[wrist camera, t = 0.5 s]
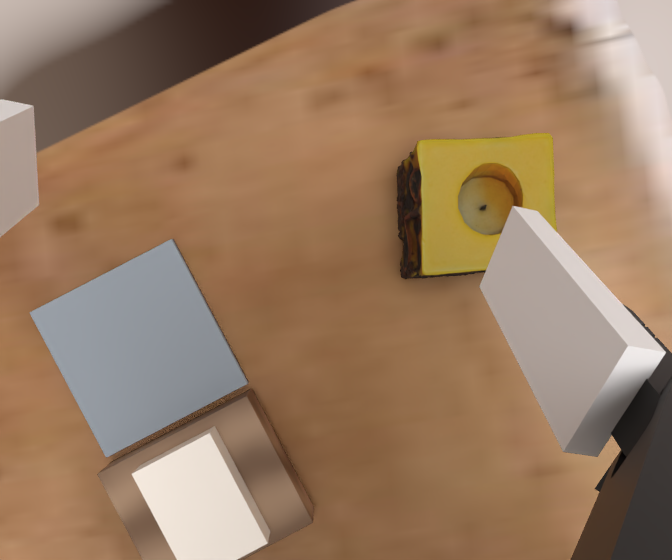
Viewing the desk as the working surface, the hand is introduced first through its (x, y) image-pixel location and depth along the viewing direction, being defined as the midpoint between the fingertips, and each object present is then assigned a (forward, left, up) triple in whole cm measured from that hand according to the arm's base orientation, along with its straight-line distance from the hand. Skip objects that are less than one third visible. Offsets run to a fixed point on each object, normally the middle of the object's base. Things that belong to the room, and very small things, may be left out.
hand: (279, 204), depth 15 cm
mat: (0, +17, -33) cm, 37 cm away
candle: (-3, -13, -33) cm, 36 cm away
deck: (-14, +17, -33) cm, 40 cm away
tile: (-14, +17, -30) cm, 37 cm away
